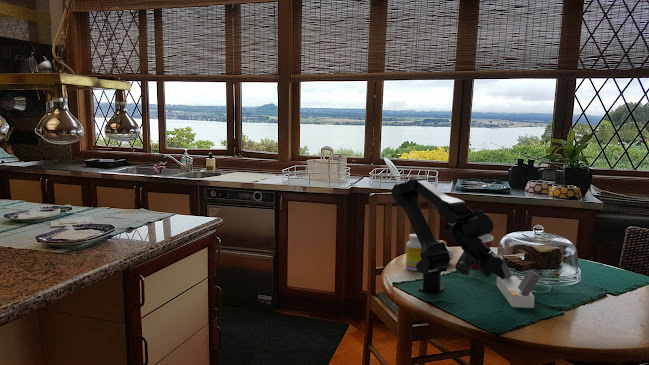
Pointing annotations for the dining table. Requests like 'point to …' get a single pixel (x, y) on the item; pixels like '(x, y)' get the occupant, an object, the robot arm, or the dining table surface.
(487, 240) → the plastic cup
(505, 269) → the lever grey tag
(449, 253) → the cat figurine
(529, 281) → the grey rectangular block
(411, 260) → the supplement bottle
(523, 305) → the switch console
